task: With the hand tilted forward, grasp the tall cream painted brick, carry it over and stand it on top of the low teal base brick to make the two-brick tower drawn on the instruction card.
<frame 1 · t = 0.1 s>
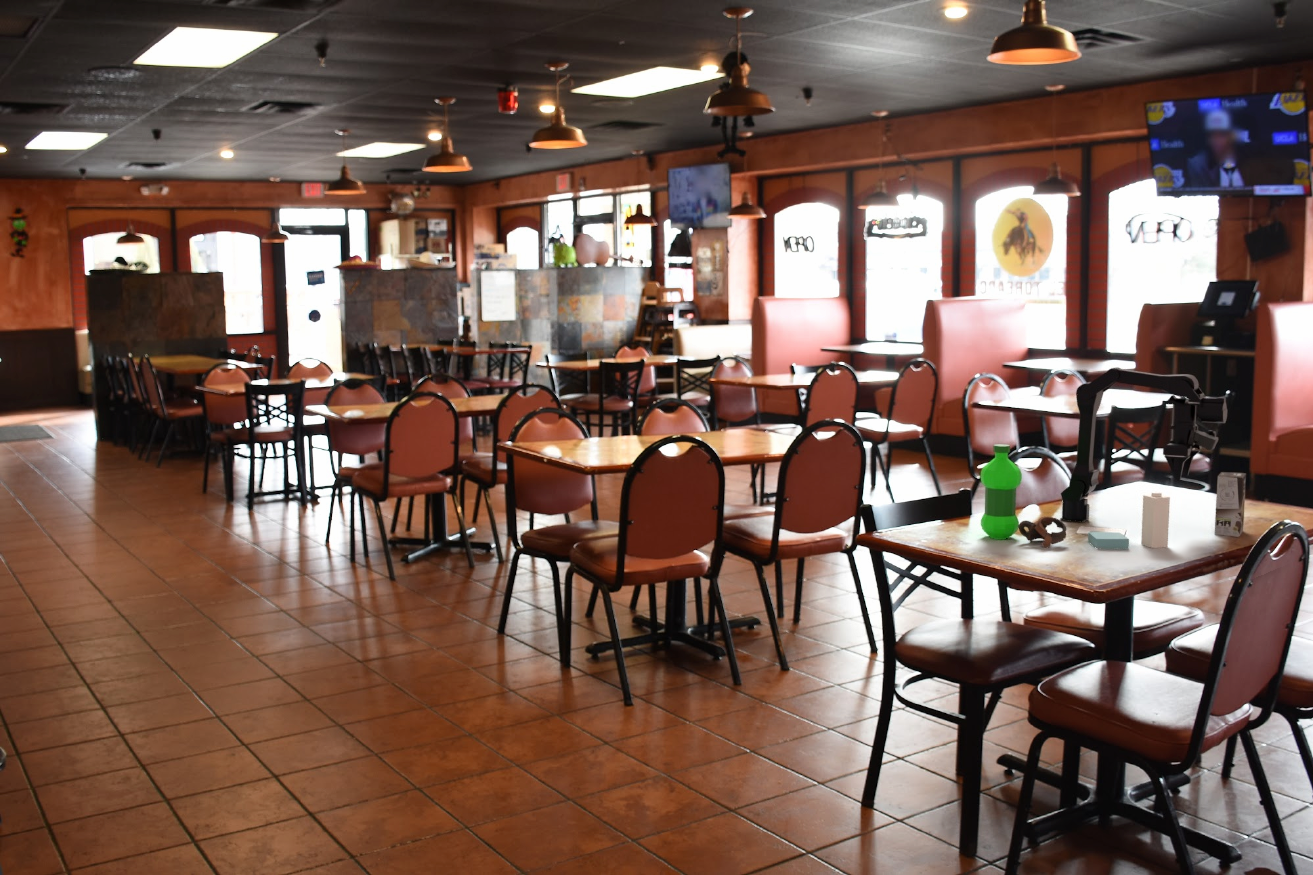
hand: (1181, 478, 323), 15 cm above the table, tool pointing down, fingers open, 9 cm apart
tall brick: (1154, 545, 307), on the table
brown curved loop piece: (1041, 544, 311), on the table
base brick: (1108, 547, 308), on the table
instruction card: (1101, 532, 324), on the table
plastic bottle: (999, 538, 319), on the table
coffee box: (1229, 533, 321), on the table
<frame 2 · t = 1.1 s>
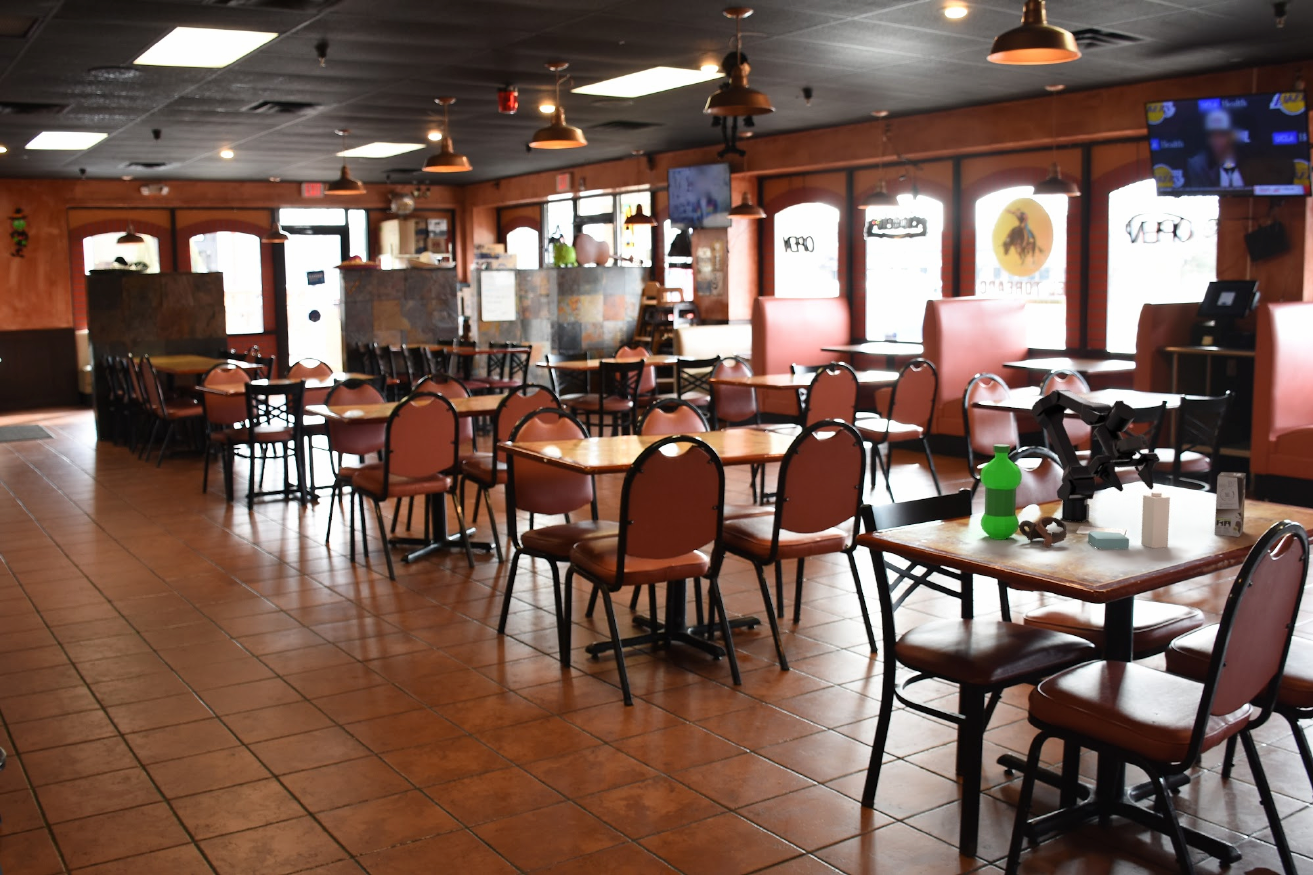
hand: (1137, 489, 313), 13 cm above the table, tool tilted 45°, fingers open, 9 cm apart
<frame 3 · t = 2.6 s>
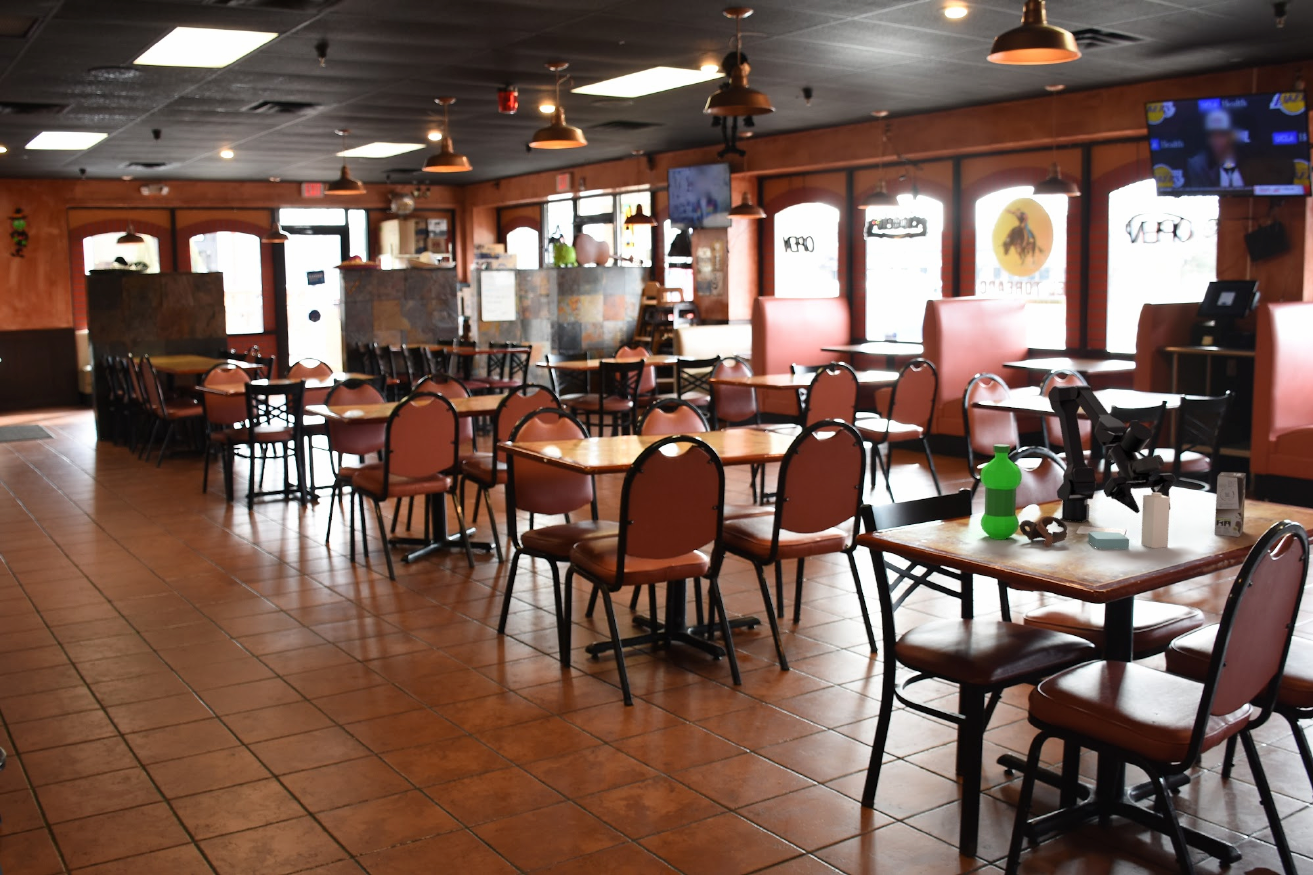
hand: (1153, 511, 307), 9 cm above the table, tool tilted 45°, fingers open, 9 cm apart
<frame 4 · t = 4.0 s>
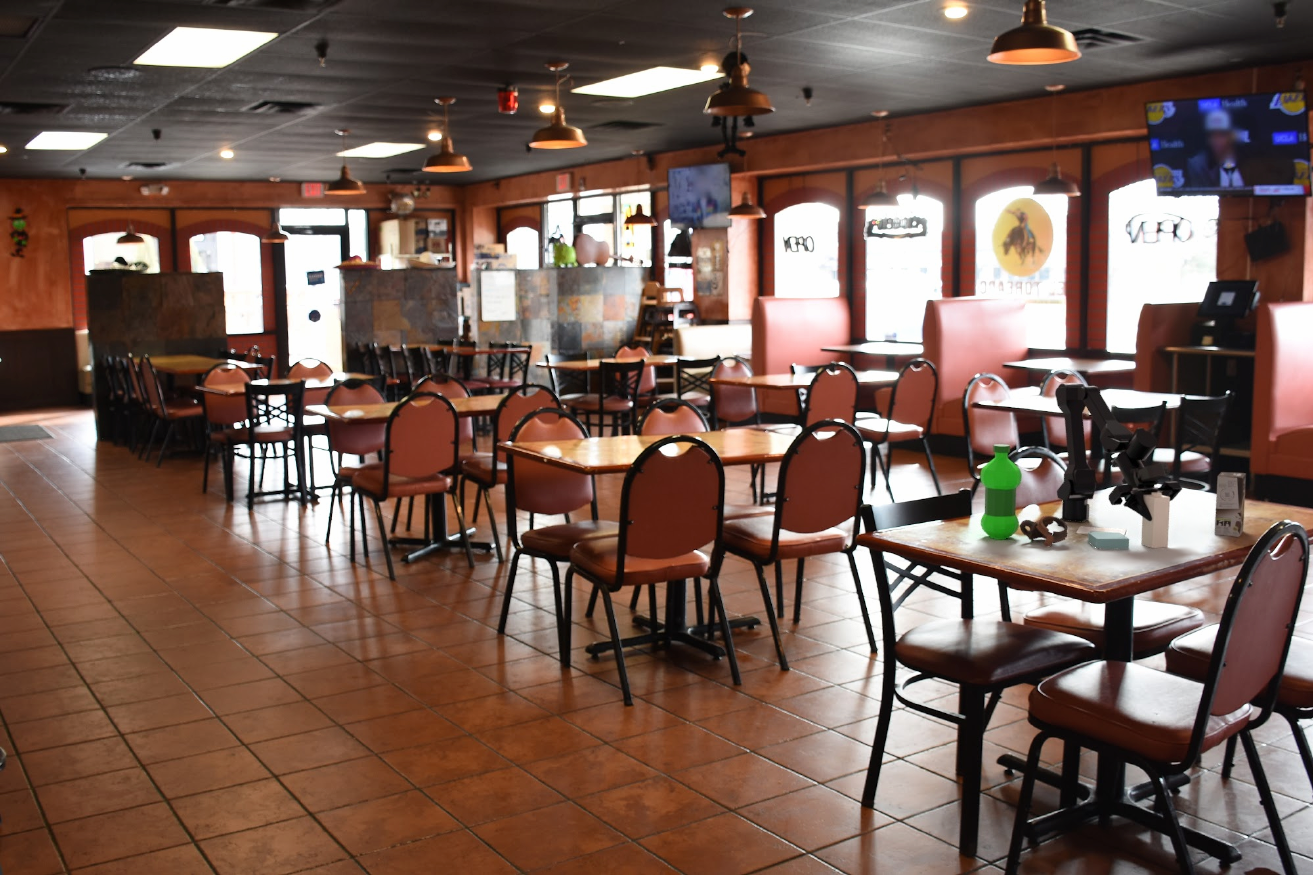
hand: (1159, 519, 305), 7 cm above the table, tool tilted 45°, fingers closed on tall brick, 4 cm apart
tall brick: (1154, 545, 307), on the table, touching gripper
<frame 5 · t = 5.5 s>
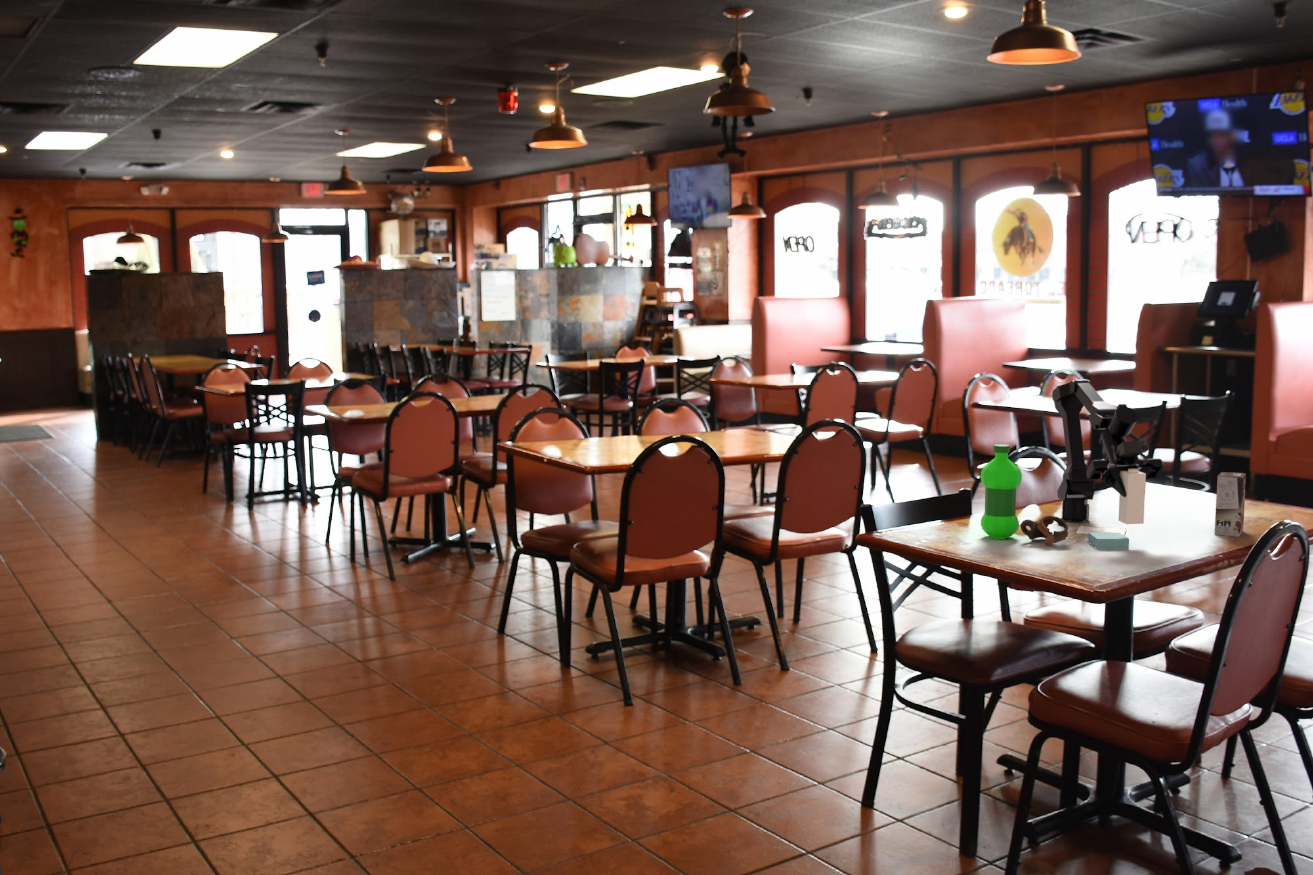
hand: (1134, 496, 304), 13 cm above the table, tool tilted 45°, fingers closed on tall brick, 4 cm apart
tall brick: (1130, 522, 306), point 6 cm above the table, touching gripper
when the fingers open (11 cm above the table, at t = 6.9 s): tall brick drops 1 cm, resting on base brick.
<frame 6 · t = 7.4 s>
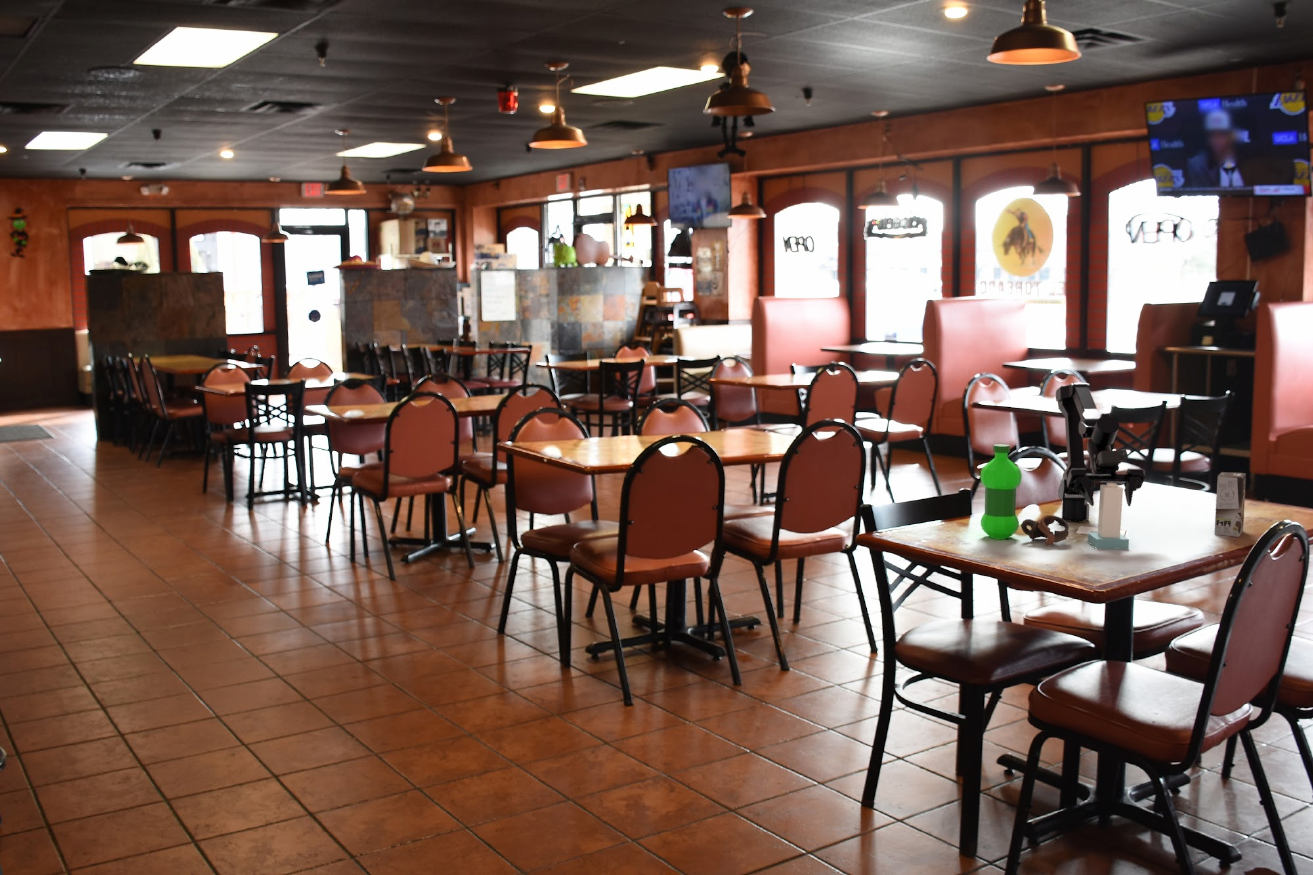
hand: (1111, 505, 305), 11 cm above the table, tool tilted 45°, fingers open, 9 cm apart
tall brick: (1108, 535, 308), point 3 cm above the table, touching base brick
base brick: (1107, 547, 308), on the table, touching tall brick
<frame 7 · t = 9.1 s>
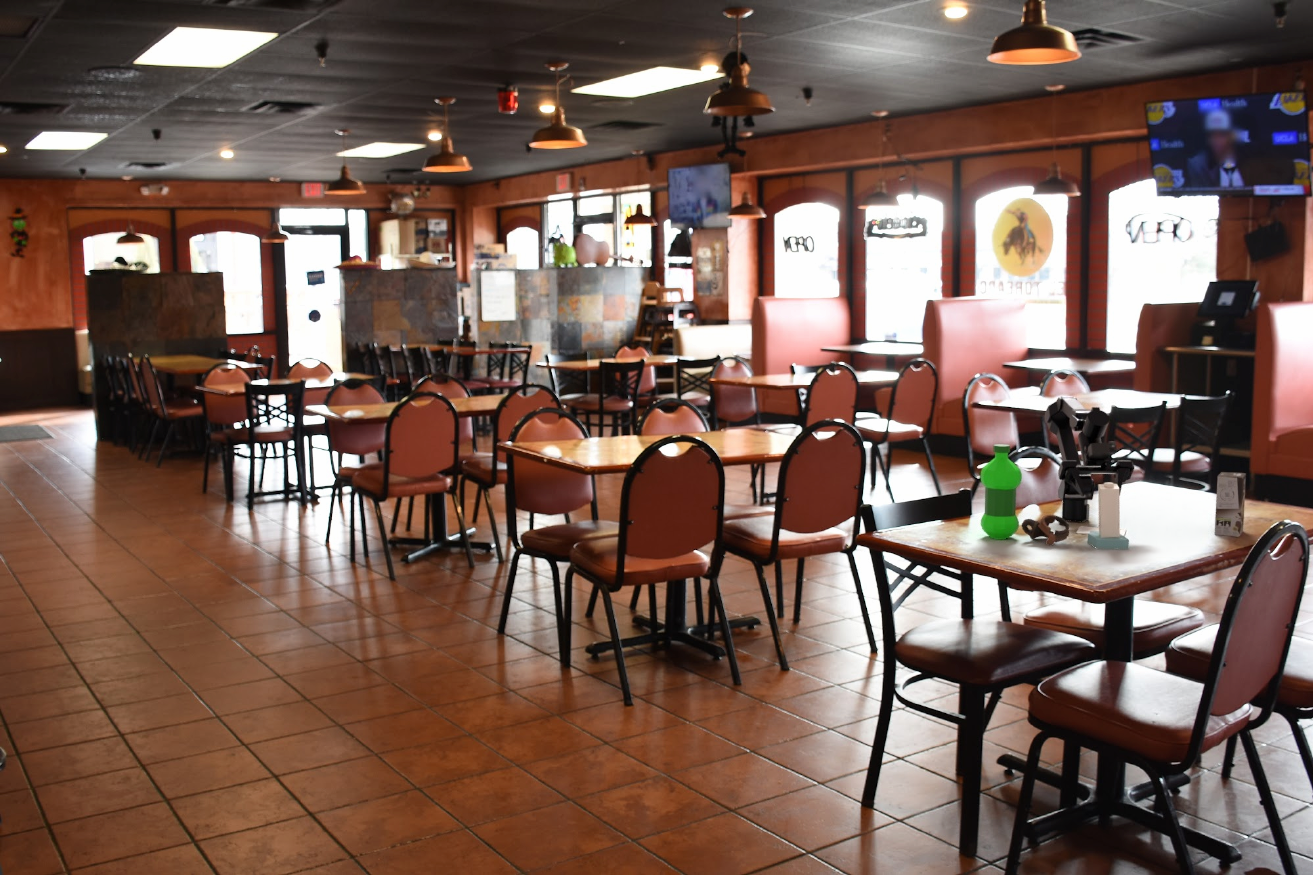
hand: (1101, 495, 315), 12 cm above the table, tool tilted 45°, fingers open, 9 cm apart
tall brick: (1109, 534, 308), point 3 cm above the table, tilted 7°, touching base brick
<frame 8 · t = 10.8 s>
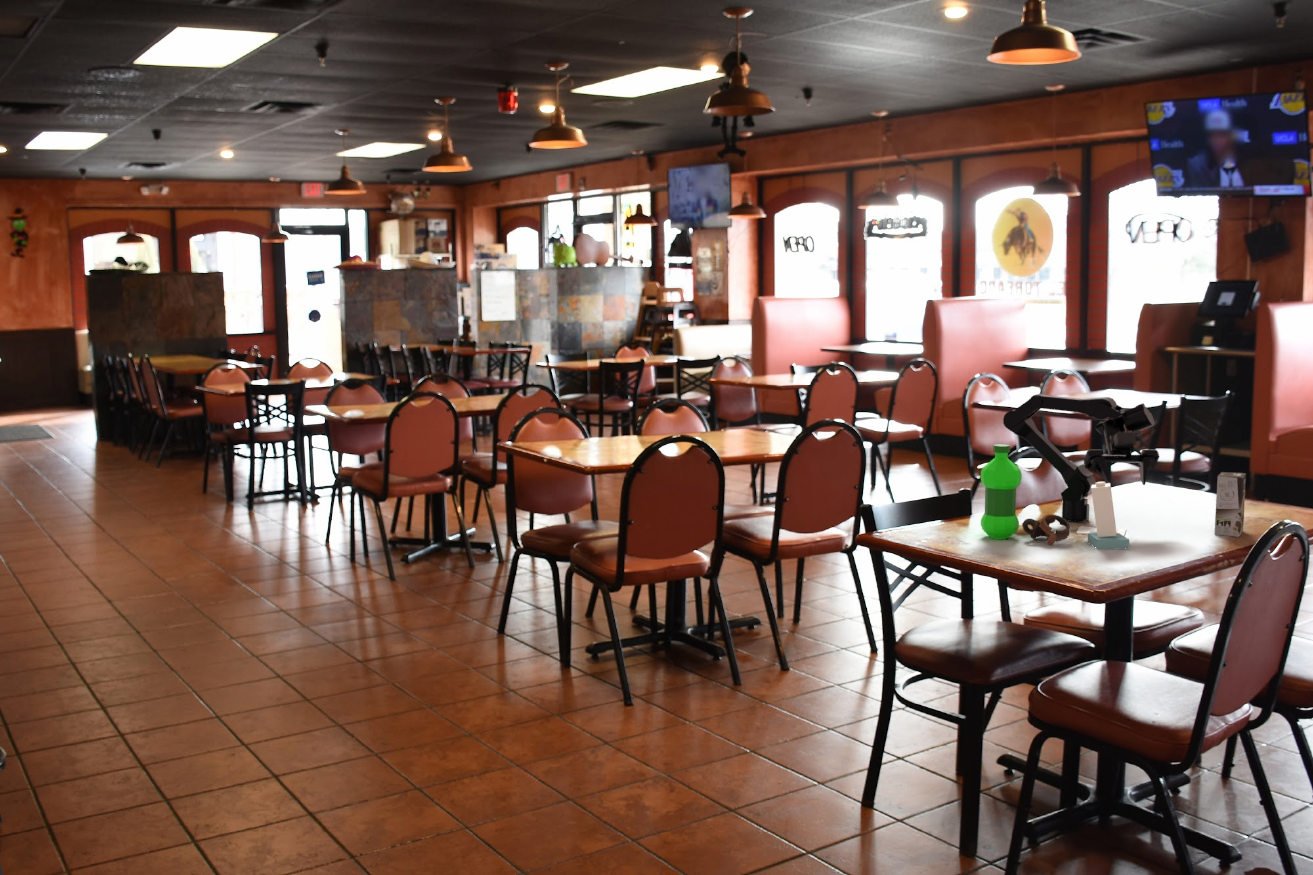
hand: (1126, 484, 321), 14 cm above the table, tool tilted 45°, fingers open, 9 cm apart
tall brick: (1107, 534, 308), point 3 cm above the table, tilted 9°
base brick: (1107, 547, 308), on the table
at the end: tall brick 0.1 cm off-centre on the base brick, point 3.3 cm above the base brick's base; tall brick tilted 5°; the gripper is holding nothing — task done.
